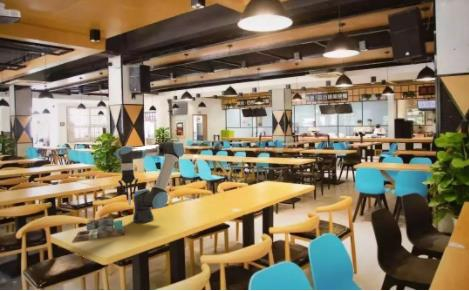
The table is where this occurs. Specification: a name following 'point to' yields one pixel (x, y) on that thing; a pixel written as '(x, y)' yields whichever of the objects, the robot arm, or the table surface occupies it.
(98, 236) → the brown piece
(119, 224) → the teal block
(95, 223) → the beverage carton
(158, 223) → the table surface
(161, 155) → the robot arm
